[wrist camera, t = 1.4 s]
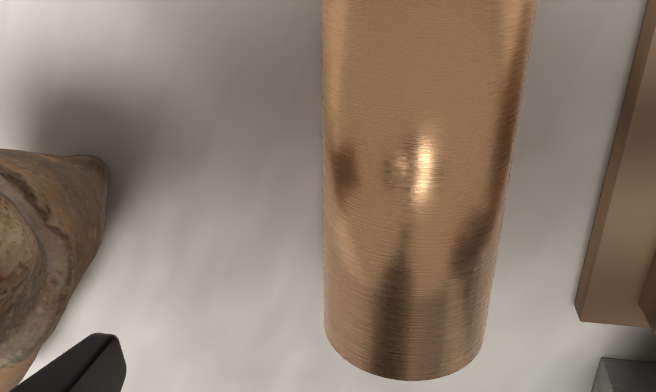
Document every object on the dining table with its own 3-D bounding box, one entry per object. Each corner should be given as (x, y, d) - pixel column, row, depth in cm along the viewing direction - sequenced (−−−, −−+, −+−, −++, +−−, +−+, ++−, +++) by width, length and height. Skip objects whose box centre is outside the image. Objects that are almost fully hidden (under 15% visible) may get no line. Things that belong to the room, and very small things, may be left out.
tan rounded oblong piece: (461, 273, 23) (505, 377, 18) (321, 277, 23) (327, 383, 18) (502, -52, 18) (582, -29, 13) (318, -51, 17) (326, -26, 12)
